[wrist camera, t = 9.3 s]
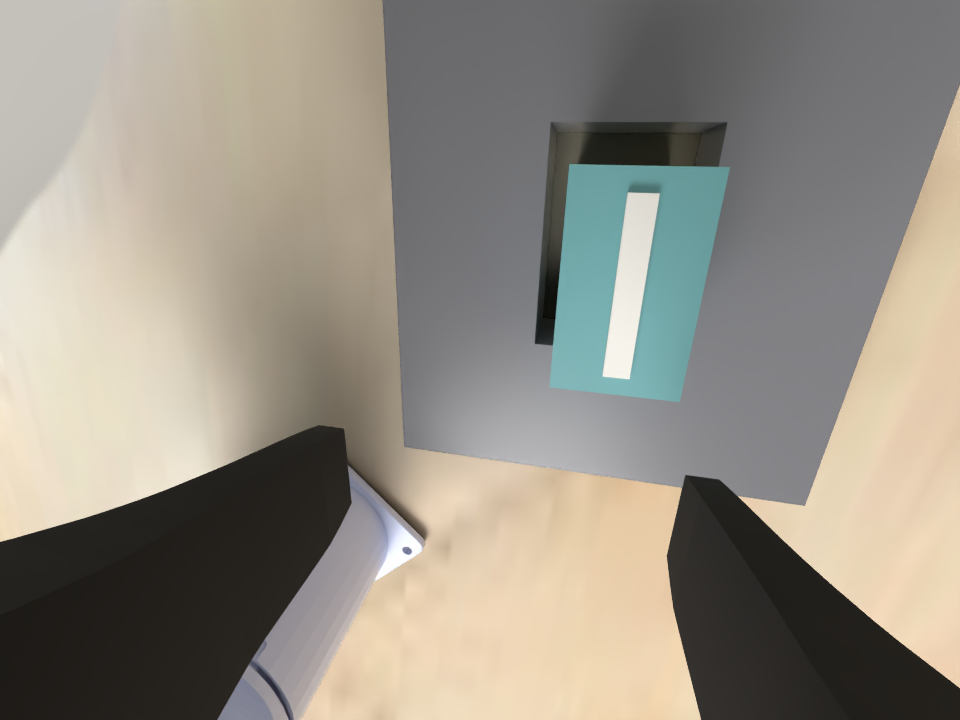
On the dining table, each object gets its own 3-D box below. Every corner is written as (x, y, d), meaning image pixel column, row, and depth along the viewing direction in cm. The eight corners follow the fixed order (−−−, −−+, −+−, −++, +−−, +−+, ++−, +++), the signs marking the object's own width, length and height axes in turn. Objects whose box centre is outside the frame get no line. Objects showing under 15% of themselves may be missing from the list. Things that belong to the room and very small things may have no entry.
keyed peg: (644, 317, 17) (681, 405, 10) (563, 311, 17) (548, 390, 11) (669, 171, 15) (732, 166, 8) (576, 169, 15) (569, 163, 9)
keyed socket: (771, 455, 18) (804, 505, 15) (428, 410, 20) (404, 446, 18) (938, -74, 12) (1045, -151, 9) (418, -37, 14) (378, -88, 12)
